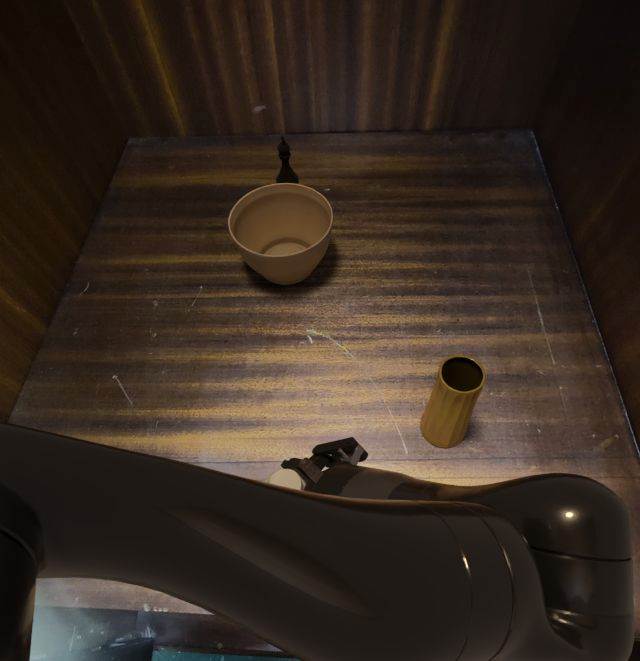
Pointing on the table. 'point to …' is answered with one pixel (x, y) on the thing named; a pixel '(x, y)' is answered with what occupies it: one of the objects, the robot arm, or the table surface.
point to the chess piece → (285, 165)
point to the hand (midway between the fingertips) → (274, 487)
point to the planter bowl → (282, 230)
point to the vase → (452, 400)
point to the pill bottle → (288, 479)
